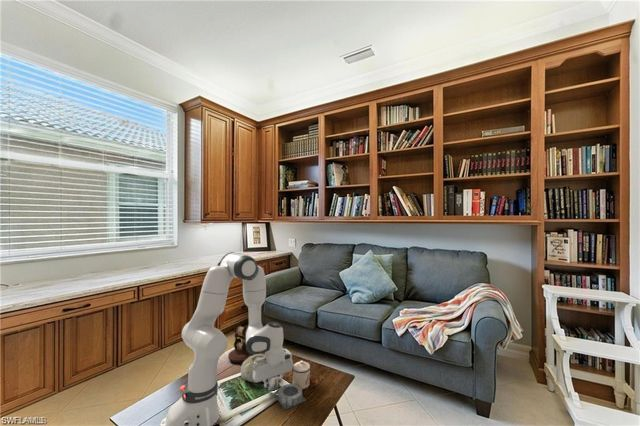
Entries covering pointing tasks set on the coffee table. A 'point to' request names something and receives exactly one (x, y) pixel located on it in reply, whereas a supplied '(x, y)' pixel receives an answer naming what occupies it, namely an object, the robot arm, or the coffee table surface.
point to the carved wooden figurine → (239, 345)
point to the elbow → (273, 383)
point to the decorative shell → (250, 367)
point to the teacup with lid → (301, 374)
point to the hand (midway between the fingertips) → (273, 384)
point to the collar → (290, 396)
